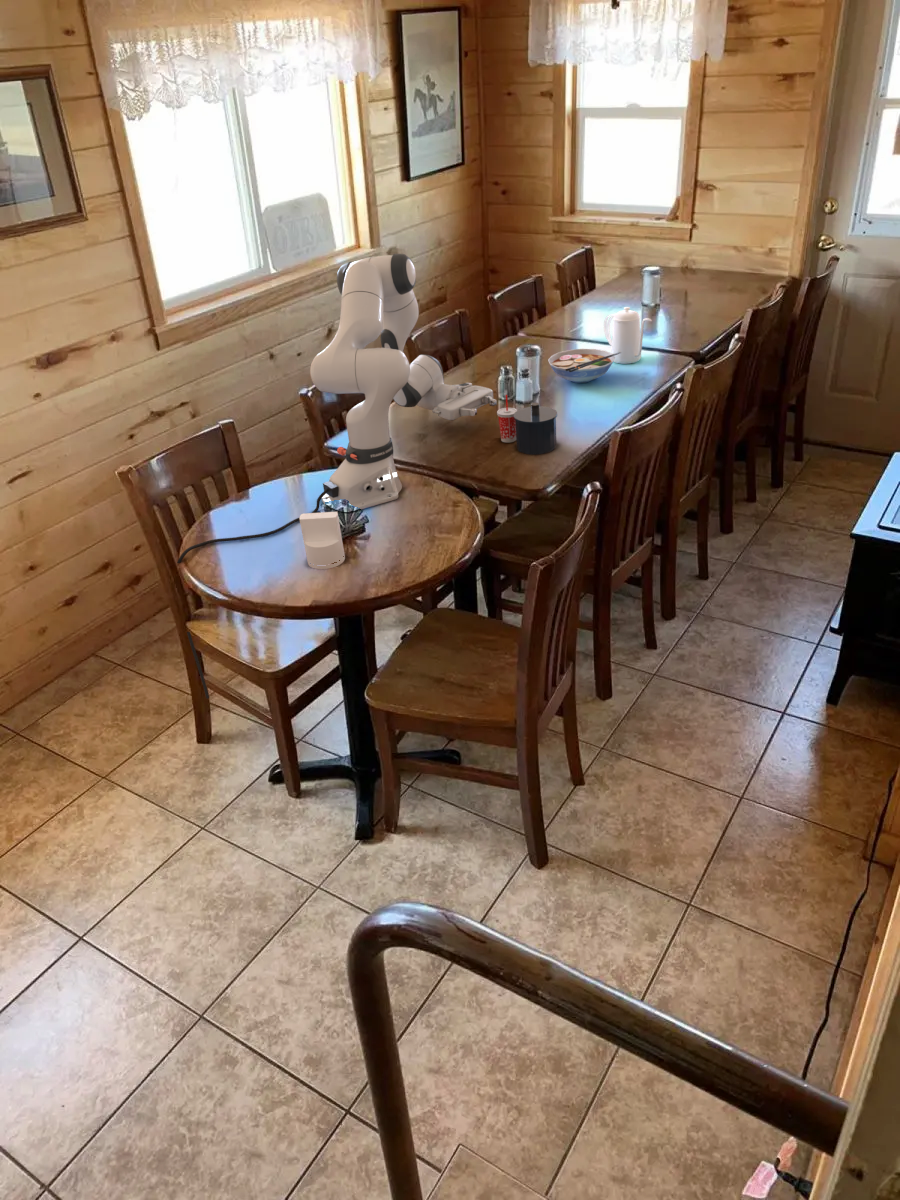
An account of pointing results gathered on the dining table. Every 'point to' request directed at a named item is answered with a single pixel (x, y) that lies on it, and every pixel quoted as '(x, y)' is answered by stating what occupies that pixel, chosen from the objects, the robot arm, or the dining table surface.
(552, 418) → the pot lid
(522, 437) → the pot
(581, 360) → the ramen bowl
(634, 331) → the coffeepot
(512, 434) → the beverage cup
